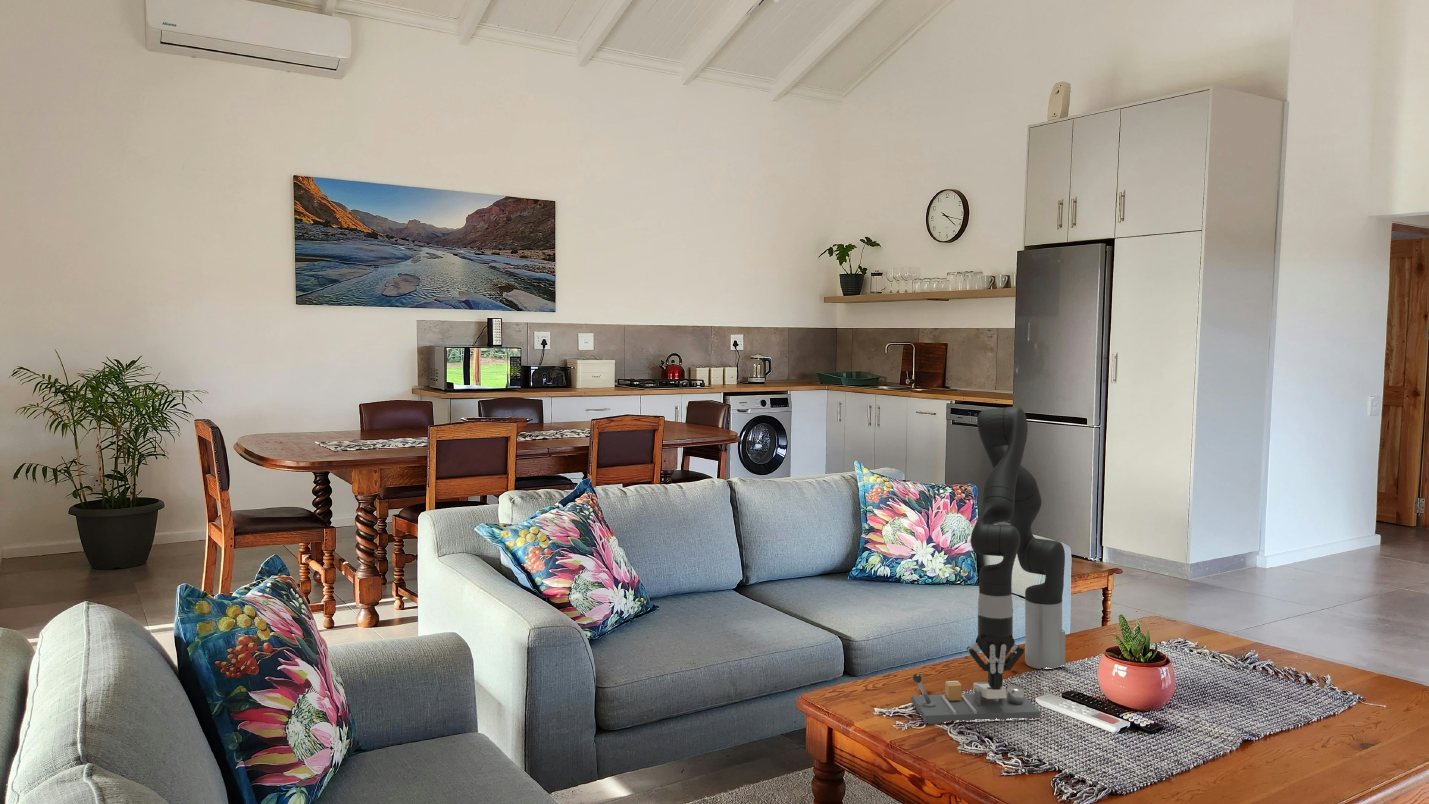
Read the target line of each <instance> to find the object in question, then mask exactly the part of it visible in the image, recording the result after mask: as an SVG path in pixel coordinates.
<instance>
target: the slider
mask: <svg viewBox="0 0 1429 804" xmlns="http://www.w3.org/2000/svg"><path fill="white" fill-rule="evenodd" d="M962 687H963V685H962V683H961V682H959V681H958V680H945V683H944V690H945V691H944V692H945V694H944V695H945V696H946V697H947V699H948V700H949V701H952V700H962V694H963V692H962V691H963V690H962V689H963V688H962Z"/></svg>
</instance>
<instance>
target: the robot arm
mask: <svg viewBox="0 0 1429 804" xmlns="http://www.w3.org/2000/svg"><path fill="white" fill-rule="evenodd" d="M976 423H977V424H976V425H977V431H978V434H979V438H980V441H981V443H982V445H983V448H984V450H985V452H986V455H987V457H988V459H989V462H990V464H991V467H992V470H991V472H990V473H989V475H988V476H987V478H986V480H985V483H984V487H983V494H982V503H981V504H982V505H981V510H980V513H979V516H978V518H977V521H976V522H975V525H974V526H973V527H972V528H973V529H972V532H971V534H970V547H971V548H972V550H973V551H974V552H975V553H976V554H977V555H980V556H981V555H982V556H991V557H1003V558H1002V560H1001V561H1000V562H998V563H994V564H987V565H983V566H981V567H980V568H979V572H978V579H979V580H978V582H979V585H978V586H979V587H978V600H977V637H976V639H975V642H974V644H972V645H971V646H967V647H966V651H967V653H968V654H969V655H970V657H971V658H972V659H973V660H974V662H975V663H976V664H977V665H978V667H979V668H980V669H982V671H984V672H987V682H988V684H989V686H990V687H991V688H992V689H993V690H1000V687H1003V673H1004V672H1006V671H1011V670H1012V668H1013V667H1014V666H1015V665H1016V664H1017V662H1018V660H1020V658H1021V657H1022V655H1023V654H1024V661H1025V662H1024V663H1025V665H1027V666H1028V667H1030V668H1034V669H1037V670H1042V669H1041V668H1046V667H1047V668H1048V667H1050V668H1054V667H1058V666H1061V665H1065V666H1066V632H1065V630H1064V629H1063V593H1064V585H1065V566H1066V565H1065V564H1066V553H1065V548H1064V545H1063V544H1062V543H1061V541H1058V540H1053V539H1045V538H1044V539H1043V538H1036V537H1035V536H1034V535H1033V532H1032V526H1033V523H1034V521H1035V519H1036V518H1037V516H1038V514H1039V512H1040V509H1041V508H1042V497H1041V493H1040V489H1039V486H1038V482H1037V480H1036V478H1035V476H1034V475H1033V474H1032V473H1031V472H1030V471H1029V470H1028V469H1027V468H1026V467H1024V465H1022V460H1023V456H1024V452H1025V448H1026V444H1027V439H1028V430H1029V429H1028V427H1029V426H1028V418H1027V415H1026V413H1025V411H1024V410H1023V408H1021V407H1019V406H1007V407H997V408H990V409H984V410H982V411H980V412H979V414H978V416H977V422H976ZM1004 446H1007V449H1005V447H1004ZM1007 521H1009V523H1010V524H998V523H1003V522H1007ZM1016 558H1017V559H1018V562H1019V566H1020V567H1021V569H1022V570H1023V571H1025V572H1027V573H1030V574H1035V575H1036V574H1037V575H1042V576H1044V577H1045V578H1044V582H1042V583H1040V584H1033V585H1030V586H1028V587H1026V588H1025V592H1024V598H1025V599H1024V610H1025V611H1024V637H1025V638H1024V649H1023V648H1022V647H1021V646H1020V645H1017V644H1016V641H1015V639H1014V636H1013V634H1014V632H1013V631H1014V629H1013V628H1014V627H1013V625H1014V619H1013V618H1014V616H1013V615H1014V607H1013V603H1014V602H1013V594H1012V591H1013V589H1012V581H1013V580H1012V579H1013V576H1012V575H1013V569H1014V565H1015V560H1016ZM980 651H981V652H982V653H983V654H984V656H985V660H986V662H985V661H983V660H982V658H981V657H980Z"/></svg>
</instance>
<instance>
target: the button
mask: <svg viewBox="0 0 1429 804" xmlns="http://www.w3.org/2000/svg"><path fill="white" fill-rule="evenodd" d="M1006 693H1007V701H1008V702H1010V703H1013V704H1021V703H1023V695H1024V687H1022V686H1020V685H1014V684H1012V685H1008V686H1006Z"/></svg>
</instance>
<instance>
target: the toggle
mask: <svg viewBox="0 0 1429 804" xmlns="http://www.w3.org/2000/svg"><path fill="white" fill-rule="evenodd" d="M922 680H923V679H922V674H920V673H915V674H914V675H913V676H912V681H913V682H914V683H916V684H917V686H918V688H919V690H920V692H921V694H922V695H923V696H924V698H925V700H926V702H927V703H928V704H930V703H931V701H930V698H929V696H928V695H929V694H928V692H927V690H926V688H925V686H924V685H923V682H922Z"/></svg>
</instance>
